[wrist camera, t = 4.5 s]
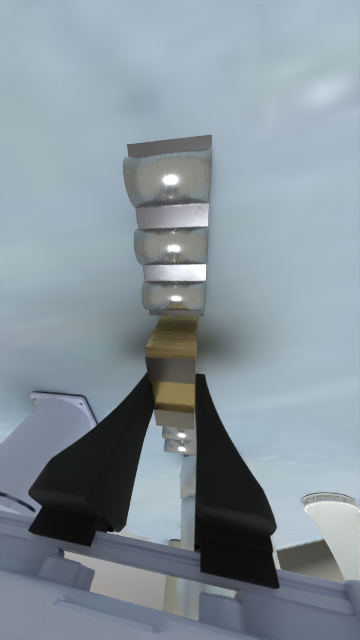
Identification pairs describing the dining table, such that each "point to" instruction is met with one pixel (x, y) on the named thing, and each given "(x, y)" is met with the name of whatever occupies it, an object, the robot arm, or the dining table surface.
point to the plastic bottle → (191, 546)
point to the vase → (338, 529)
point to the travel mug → (171, 586)
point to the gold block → (173, 370)
